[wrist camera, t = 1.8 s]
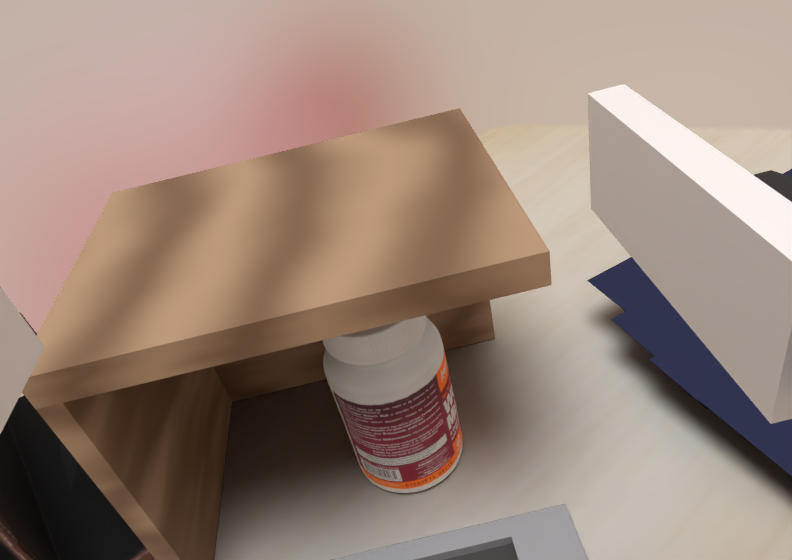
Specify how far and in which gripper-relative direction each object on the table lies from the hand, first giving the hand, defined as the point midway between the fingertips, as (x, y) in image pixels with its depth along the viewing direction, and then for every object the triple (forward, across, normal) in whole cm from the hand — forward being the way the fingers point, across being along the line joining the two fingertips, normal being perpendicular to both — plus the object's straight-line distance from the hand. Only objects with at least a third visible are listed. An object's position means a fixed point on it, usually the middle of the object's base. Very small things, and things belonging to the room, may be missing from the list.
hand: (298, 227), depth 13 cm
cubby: (+13, -3, -22) cm, 26 cm away
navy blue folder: (+8, +28, -23) cm, 37 cm away
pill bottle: (+12, 0, -22) cm, 25 cm away
